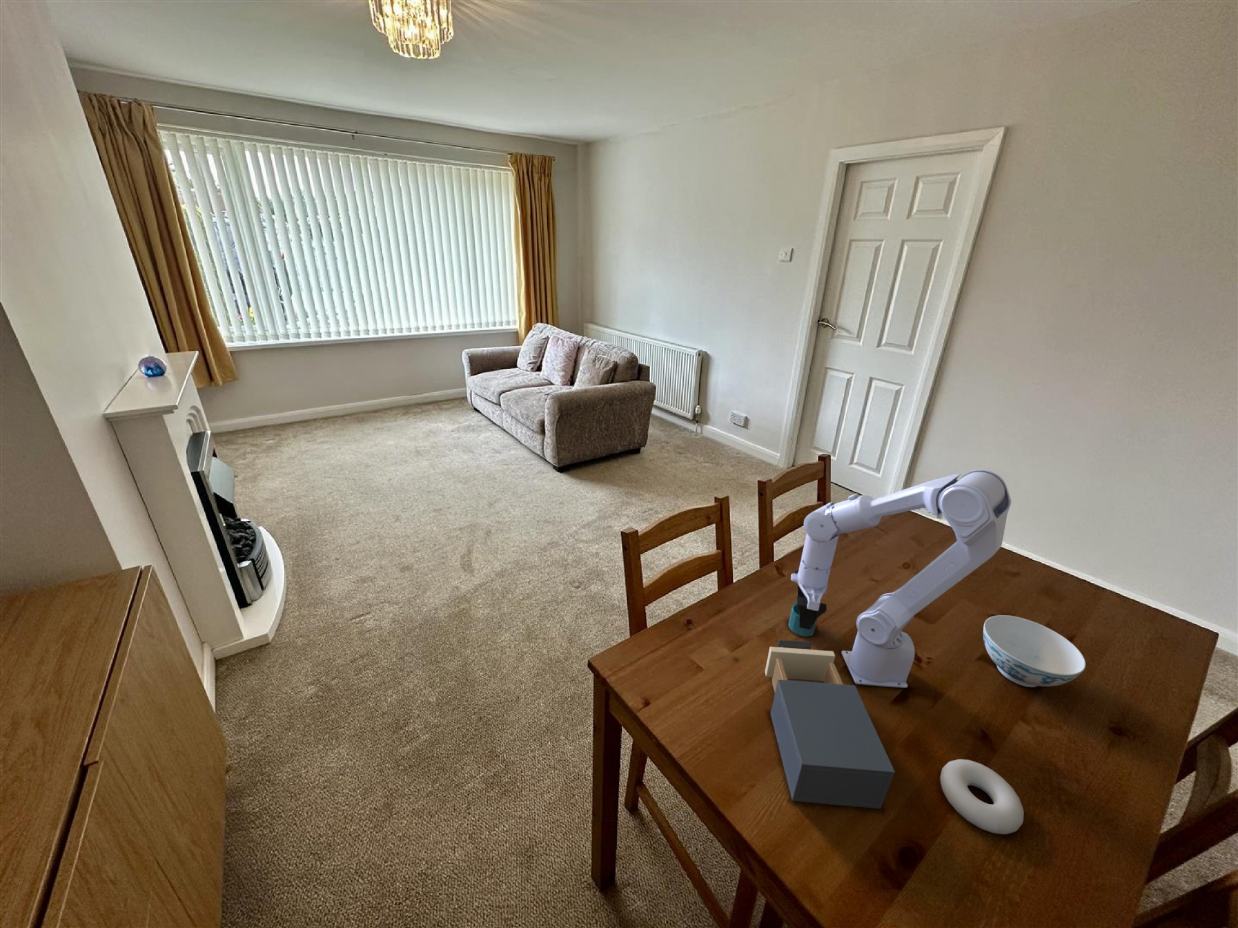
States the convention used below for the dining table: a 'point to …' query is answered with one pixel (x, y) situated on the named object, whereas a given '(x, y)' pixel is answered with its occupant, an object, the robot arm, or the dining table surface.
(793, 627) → the cup
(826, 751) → the cabinet
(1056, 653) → the chinaware
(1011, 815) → the donut
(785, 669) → the drawer
